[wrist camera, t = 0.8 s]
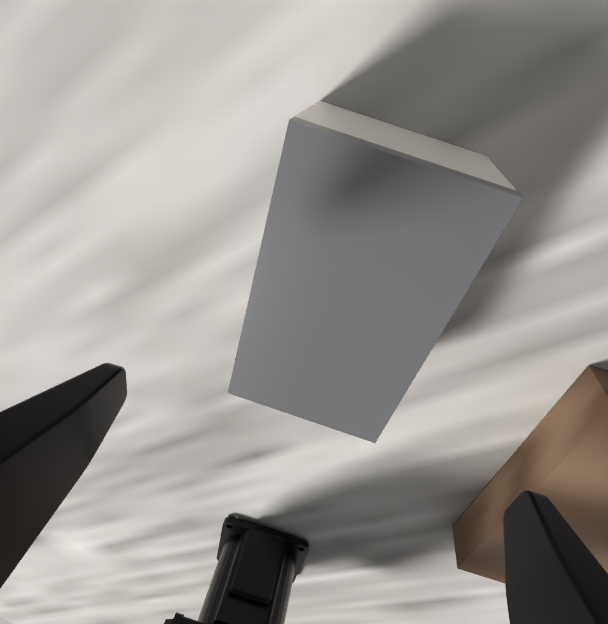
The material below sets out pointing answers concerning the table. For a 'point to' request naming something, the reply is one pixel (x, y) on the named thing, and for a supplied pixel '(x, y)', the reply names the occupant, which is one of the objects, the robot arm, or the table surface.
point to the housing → (362, 265)
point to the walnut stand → (548, 479)
